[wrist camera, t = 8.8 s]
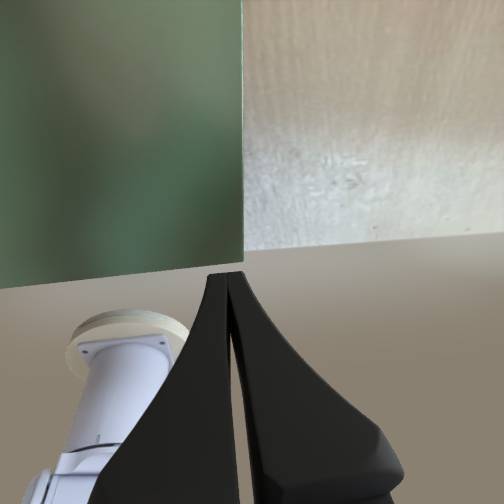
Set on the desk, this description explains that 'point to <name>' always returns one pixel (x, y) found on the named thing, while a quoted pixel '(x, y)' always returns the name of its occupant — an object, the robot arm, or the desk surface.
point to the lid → (119, 137)
